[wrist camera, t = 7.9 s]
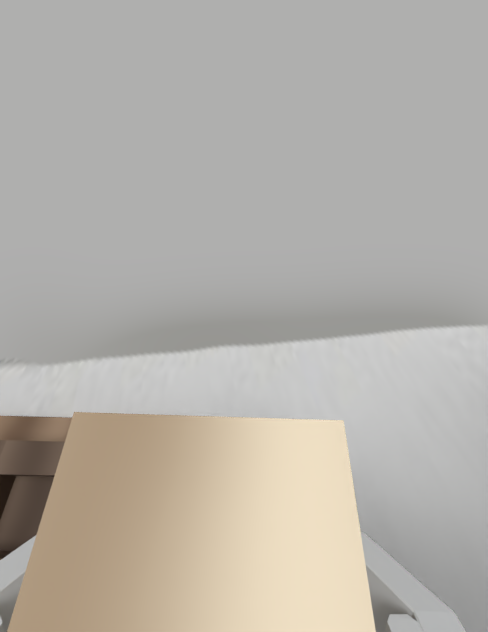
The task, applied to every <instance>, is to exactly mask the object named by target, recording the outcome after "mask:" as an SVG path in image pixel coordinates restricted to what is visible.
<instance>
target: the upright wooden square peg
mask: <svg viewBox="0 0 488 632" xmlns="http://www.w3.org/2000/svg"><path fill="white" fill-rule="evenodd" d="M7 632H376V630H375V623H374V617H373V610H372V604H371V597H370V590H369V584H368V577H367V571H366V564H365V558H364V551H363V545H362V538H361V532H360V525H359V518H358V512H357V505H356V499H355V492H354V486H353V479H352V473H351V466H350V460H349V453H348V446H347V440H346V433H345V427H344V421H343V420H311V419H278V418H246V417H214V416H181V415H149V414H117V413H84V412H74V414H73V417H72V420H71V424H70V427H69V430H68V434H67V437H66V440H65V443H64V447H63V450H62V453H61V456H60V460H59V463H58V466H57V470H56V473H55V476H54V479H53V483H52V486H51V489H50V492H49V496H48V499H47V502H46V506H45V509H44V512H43V515H42V519H41V522H40V525H39V529H38V532H37V535H36V538H35V542H34V545H33V548H32V551H31V555H30V558H29V561H28V565H27V568H26V571H25V574H24V578H23V581H22V584H21V587H20V591H19V594H18V597H17V601H16V604H15V607H14V610H13V614H12V617H11V620H10V623H9V627H8V630H7Z"/></svg>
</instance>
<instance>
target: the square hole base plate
mask: <svg viewBox="0 0 488 632" xmlns="http://www.w3.org/2000/svg"><path fill="white" fill-rule="evenodd" d="M71 420H72V418H62V417H23V416H0V560H1V559H3V558H4V557H6V556H7V555H9V554H10V553H11V552H13V551H14V550H16V549H17V548H18V547H20V546H21V545H23V544H24V543H26V542H27V541H28V540H30V539H31V538H33V537H34V536H36V535H37V532H38V529H39V525H40V522H41V519H42V515H43V512H44V509H45V506H46V502H47V499H48V496H49V492H50V489H51V486H52V483H53V479H54V476H55V473H56V470H57V466H58V463H59V460H60V456H61V453H62V450H63V447H64V443H65V440H66V437H67V434H68V430H69V427H70V424H71Z"/></svg>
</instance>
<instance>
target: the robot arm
mask: <svg viewBox="0 0 488 632" xmlns="http://www.w3.org/2000/svg"><path fill="white" fill-rule="evenodd" d="M35 538H36V536H34V537H33V538H31V539H30V540H28V541H27V542H26V543H24V544H23V545H21V546H20V547H18V548H17V549H16V550H14V551H13V552H11V553H10V554H9V555H7V556H6V557H4V558H3V559H1V560H0V632H7V630H8V627H9V623H10V620H11V617H12V614H13V610H14V607H15V604H16V601H17V597H18V594H19V591H20V587H21V584H22V581H23V578H24V574H25V571H26V568H27V565H28V561H29V558H30V555H31V551H32V548H33V545H34V542H35ZM361 538H362V545H363V551H364V558H365V564H366V571H367V577H368V584H369V590H370V597H371V604H372V610H373V617H374V623H375V630H376V632H466V631H465V629H464V627H463V626H462V624H461V622H460V621H459V619H458V617H457V615H456V614H455V612H453V611H452V610H451V609H450V608H449V607H448V606H447V605H446V604H444V603H443V602H442V601H441V600H440V599H439V598H438V597H436V596H435V595H434V594H433V593H432V592H431V591H430V590H429V589H427V588H426V587H425V586H424V585H423V584H422V583H421V582H420V581H418V580H417V579H416V578H415V577H414V576H413V575H412V574H410V573H409V572H408V571H407V570H406V569H405V568H404V567H403V566H401V565H400V564H399V563H398V562H397V561H396V560H395V559H394V558H392V557H391V556H390V555H389V554H388V553H387V552H386V551H384V550H383V549H382V548H381V547H380V546H379V545H378V544H377V543H375V542H374V541H373V540H372V539H371V538H370V537H369V536H368V535H366V534H365V533H361Z"/></svg>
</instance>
